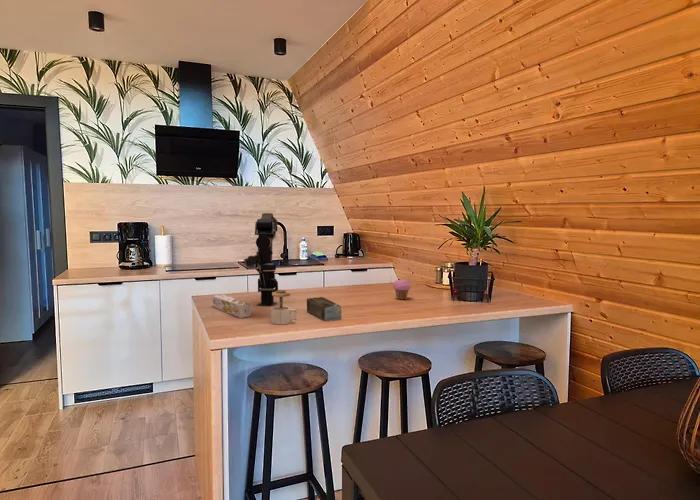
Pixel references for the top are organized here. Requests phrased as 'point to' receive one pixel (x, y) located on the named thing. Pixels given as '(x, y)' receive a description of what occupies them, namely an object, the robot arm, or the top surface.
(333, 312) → the beverage carton
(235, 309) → the box
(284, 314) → the press pot
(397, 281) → the cupcake
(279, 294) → the plunger
